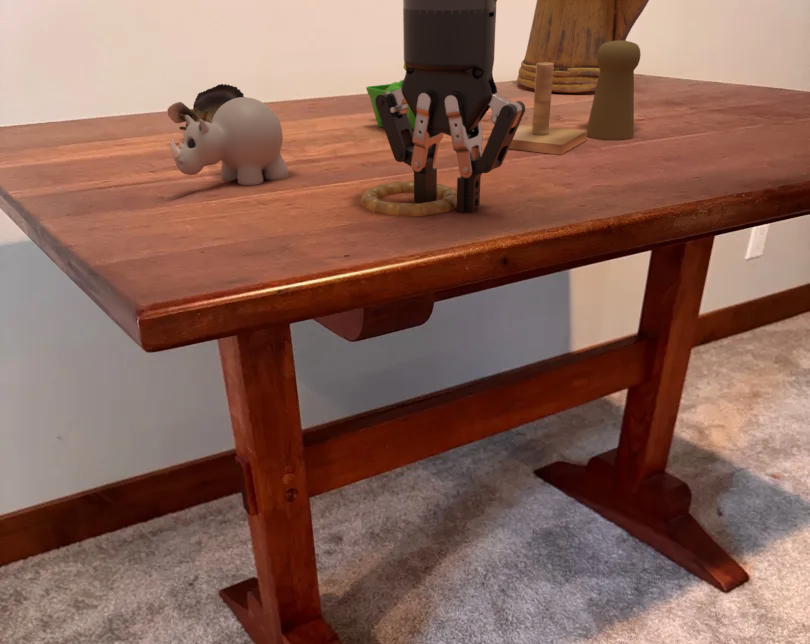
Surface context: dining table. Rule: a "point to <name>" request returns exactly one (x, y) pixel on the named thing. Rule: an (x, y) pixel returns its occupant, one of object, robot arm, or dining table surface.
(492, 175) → the dining table surface
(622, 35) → the tankard
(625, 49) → the cork
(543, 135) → the post
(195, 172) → the toy rhinoceros
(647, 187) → the dining table surface
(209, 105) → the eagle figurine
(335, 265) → the dining table surface
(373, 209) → the ring
